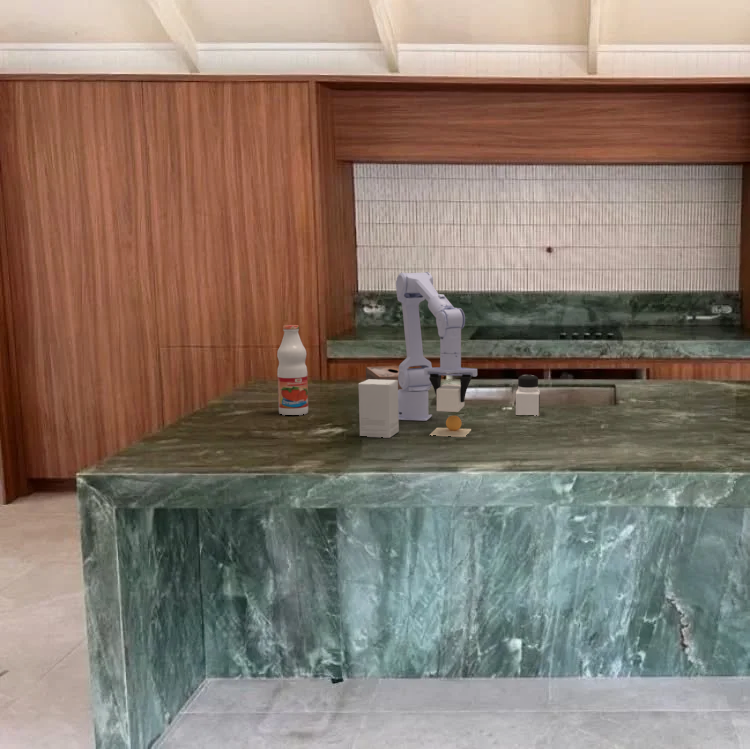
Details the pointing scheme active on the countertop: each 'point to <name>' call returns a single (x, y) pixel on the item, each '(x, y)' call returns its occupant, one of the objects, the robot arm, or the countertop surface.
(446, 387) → the white rectangular prism
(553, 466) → the countertop surface
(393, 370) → the tissue box cover
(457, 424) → the ball
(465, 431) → the mark
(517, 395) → the medicine bottle
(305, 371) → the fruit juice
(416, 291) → the robot arm
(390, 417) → the supplement box
